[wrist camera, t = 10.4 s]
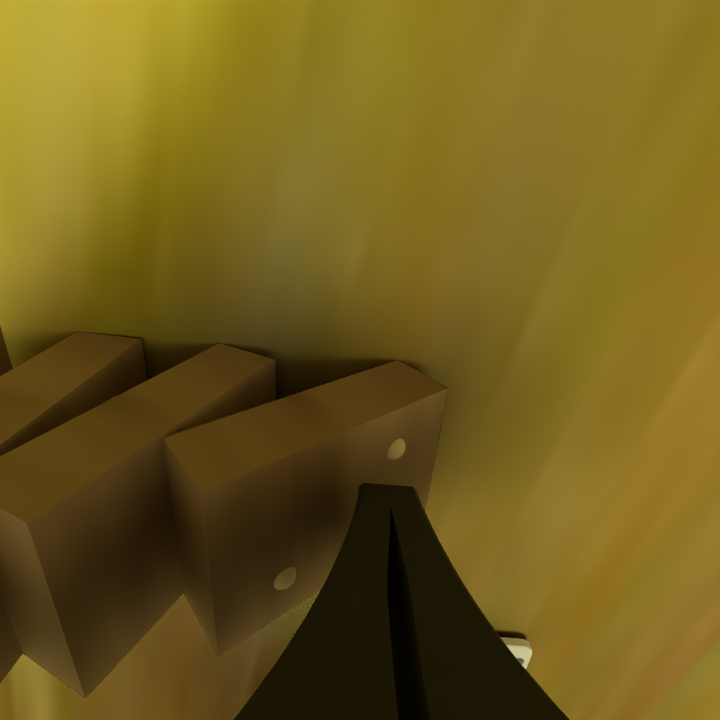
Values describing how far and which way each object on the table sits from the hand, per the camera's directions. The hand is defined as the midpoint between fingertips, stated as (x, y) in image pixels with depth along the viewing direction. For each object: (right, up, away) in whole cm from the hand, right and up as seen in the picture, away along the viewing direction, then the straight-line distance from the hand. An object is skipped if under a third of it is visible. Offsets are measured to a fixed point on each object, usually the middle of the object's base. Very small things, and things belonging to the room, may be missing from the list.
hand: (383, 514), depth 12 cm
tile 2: (-4, +2, +3) cm, 5 cm away
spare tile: (+1, +1, +3) cm, 3 cm away
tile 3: (-8, +2, +3) cm, 9 cm away
